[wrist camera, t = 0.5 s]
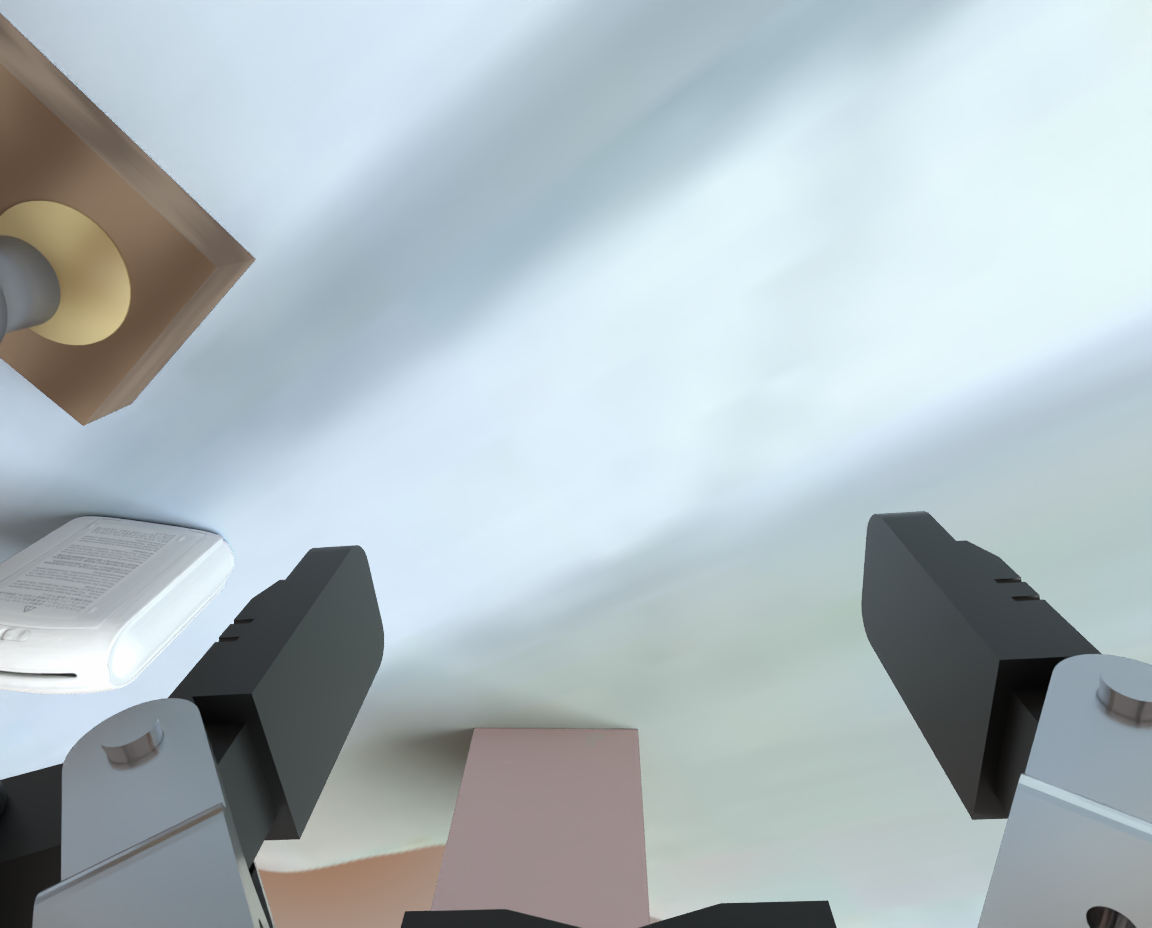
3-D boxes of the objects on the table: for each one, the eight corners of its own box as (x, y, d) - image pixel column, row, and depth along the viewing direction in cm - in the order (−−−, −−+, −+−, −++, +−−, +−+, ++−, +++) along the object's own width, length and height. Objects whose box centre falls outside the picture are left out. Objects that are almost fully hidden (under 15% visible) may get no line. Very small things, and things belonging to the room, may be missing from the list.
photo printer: (80, 566, 45) (-102, 697, 33) (70, 507, 43) (-124, 623, 32) (239, 587, 45) (113, 725, 33) (235, 528, 43) (102, 651, 32)
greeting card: (467, 736, 49) (413, 956, 35) (523, 665, 46) (488, 871, 32) (602, 807, 51) (601, 1041, 37) (662, 742, 48) (685, 968, 34)
